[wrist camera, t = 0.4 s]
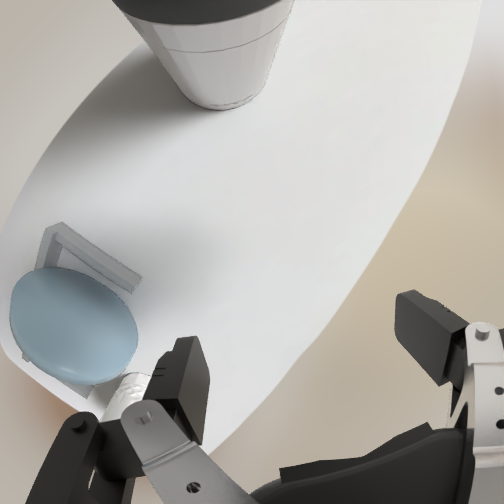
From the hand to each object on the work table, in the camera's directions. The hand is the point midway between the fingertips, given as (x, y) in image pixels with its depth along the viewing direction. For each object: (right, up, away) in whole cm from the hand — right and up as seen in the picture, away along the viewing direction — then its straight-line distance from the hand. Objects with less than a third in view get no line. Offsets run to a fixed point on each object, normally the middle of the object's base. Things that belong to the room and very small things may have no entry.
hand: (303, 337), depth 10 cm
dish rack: (-24, -7, +20) cm, 32 cm away
